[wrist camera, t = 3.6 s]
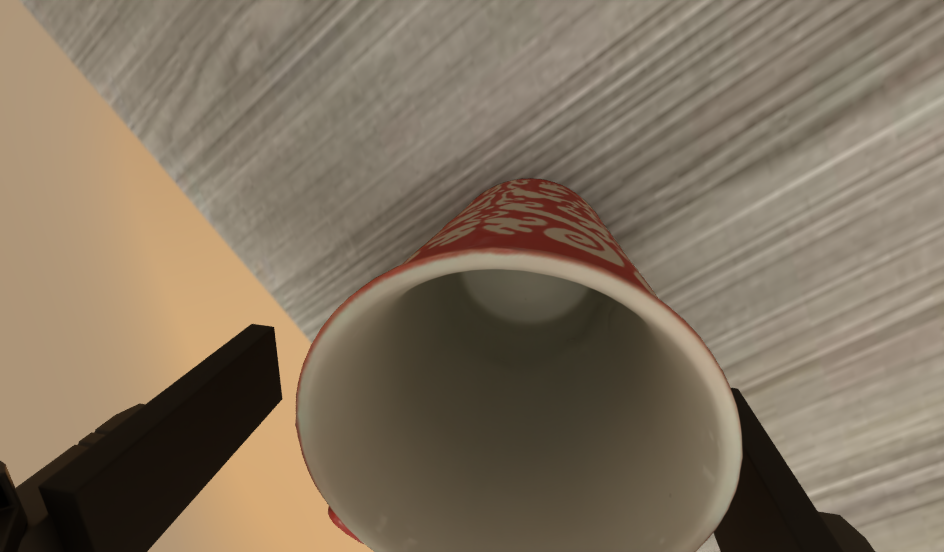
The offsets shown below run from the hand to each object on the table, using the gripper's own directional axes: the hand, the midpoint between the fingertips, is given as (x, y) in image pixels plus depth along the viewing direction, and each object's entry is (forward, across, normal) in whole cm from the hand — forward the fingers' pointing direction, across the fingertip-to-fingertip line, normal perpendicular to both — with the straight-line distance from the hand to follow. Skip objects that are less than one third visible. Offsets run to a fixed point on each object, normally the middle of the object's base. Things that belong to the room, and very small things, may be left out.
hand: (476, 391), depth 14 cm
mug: (+9, 0, 0) cm, 9 cm away
